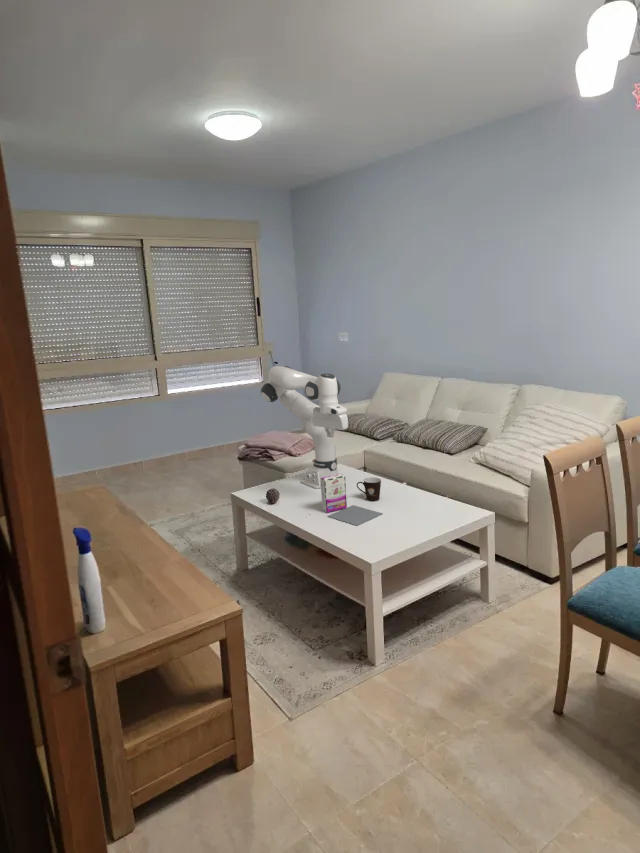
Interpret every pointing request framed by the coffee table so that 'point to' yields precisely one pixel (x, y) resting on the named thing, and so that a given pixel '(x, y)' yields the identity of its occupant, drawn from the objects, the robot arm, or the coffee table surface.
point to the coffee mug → (371, 488)
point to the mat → (355, 515)
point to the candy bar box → (333, 493)
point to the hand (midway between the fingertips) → (330, 437)
